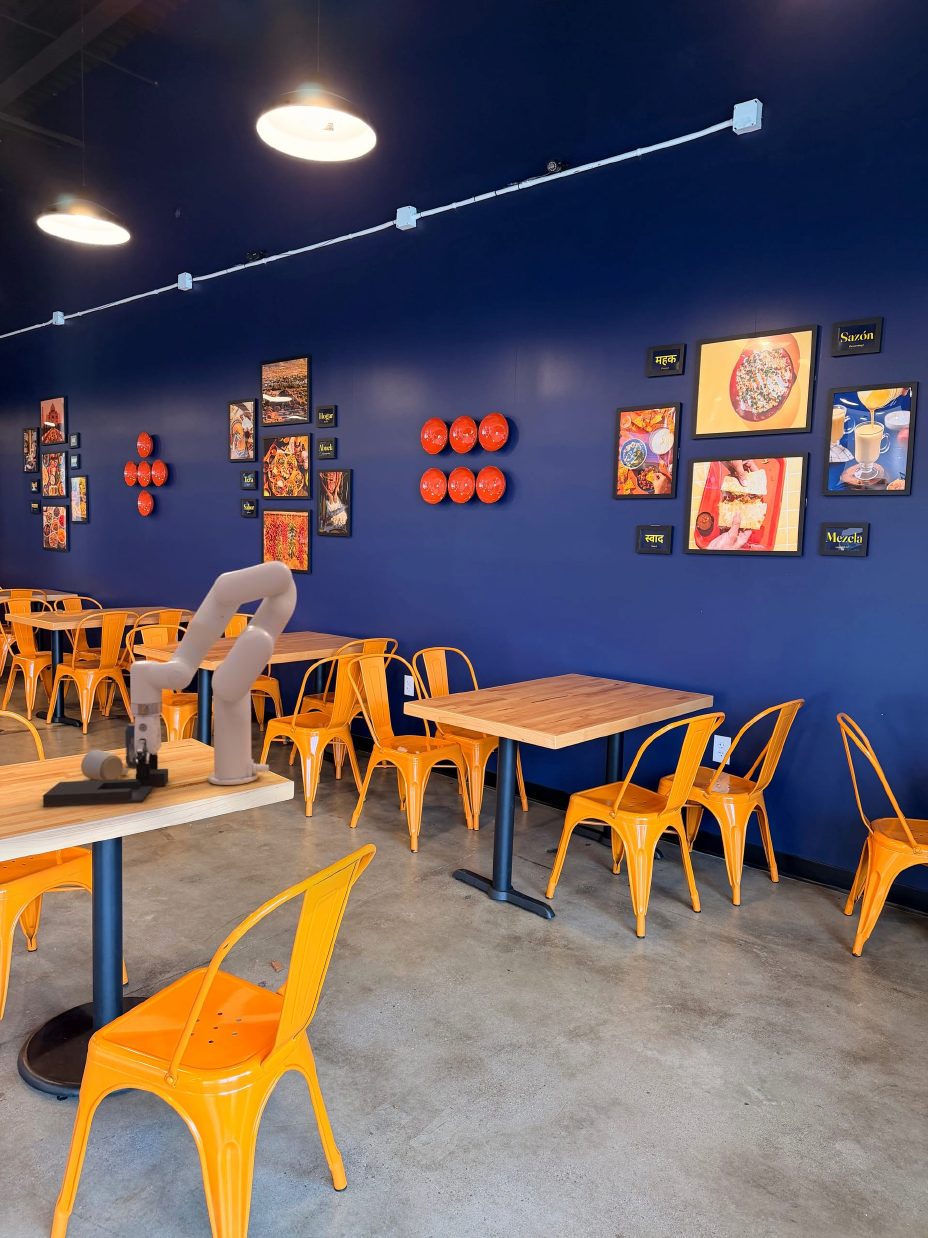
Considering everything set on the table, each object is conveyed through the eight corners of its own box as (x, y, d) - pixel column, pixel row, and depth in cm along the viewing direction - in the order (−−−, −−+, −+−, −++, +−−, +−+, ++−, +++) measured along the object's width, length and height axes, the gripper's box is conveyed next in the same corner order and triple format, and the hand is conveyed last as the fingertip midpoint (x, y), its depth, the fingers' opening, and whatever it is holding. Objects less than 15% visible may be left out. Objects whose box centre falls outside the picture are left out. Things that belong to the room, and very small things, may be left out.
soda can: (150, 761, 231) (149, 720, 230) (154, 766, 225) (153, 724, 224) (124, 764, 227) (123, 722, 226) (127, 769, 221) (126, 726, 220)
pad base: (153, 788, 202) (152, 778, 202) (142, 802, 190) (142, 791, 190) (60, 793, 198) (59, 781, 198) (43, 807, 186) (42, 795, 186)
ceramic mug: (101, 785, 205) (101, 755, 204) (80, 781, 208) (80, 752, 208) (135, 776, 214) (135, 748, 214) (115, 773, 218) (115, 745, 217)
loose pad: (168, 781, 209) (168, 768, 208) (164, 786, 204) (164, 773, 203) (140, 783, 207) (139, 769, 207) (135, 788, 202) (135, 774, 202)
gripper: (155, 714, 196) (156, 783, 197) (168, 703, 213) (168, 766, 214) (122, 715, 195) (123, 784, 196) (138, 703, 212) (139, 767, 213)
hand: (147, 774), depth 205 cm, fingers open, 9 cm apart
